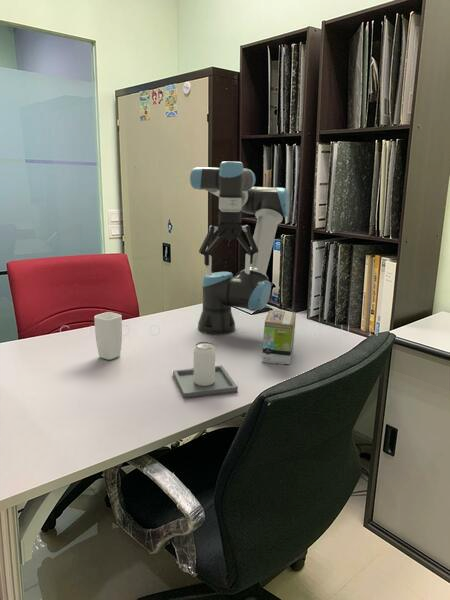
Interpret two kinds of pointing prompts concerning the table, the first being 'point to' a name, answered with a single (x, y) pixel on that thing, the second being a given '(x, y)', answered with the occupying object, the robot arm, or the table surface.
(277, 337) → the tea box
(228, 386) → the tray
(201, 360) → the can
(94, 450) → the table surface
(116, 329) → the cup
